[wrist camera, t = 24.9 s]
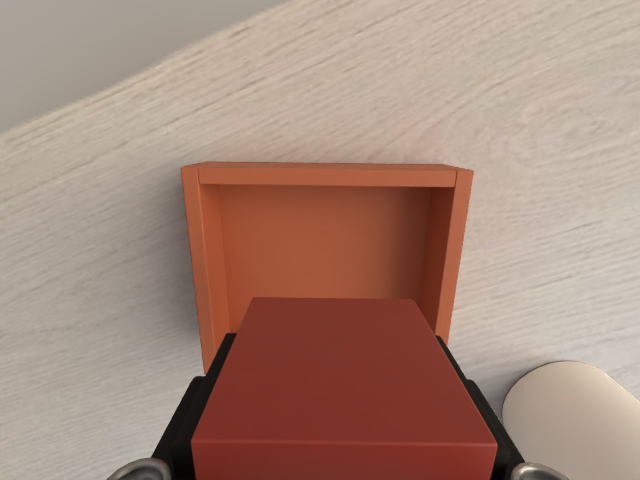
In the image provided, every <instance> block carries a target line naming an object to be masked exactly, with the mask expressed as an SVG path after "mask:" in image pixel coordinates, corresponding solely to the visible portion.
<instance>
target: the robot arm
mask: <svg viewBox="0 0 640 480" xmlns="http://www.w3.org/2000/svg"><path fill="white" fill-rule="evenodd" d="M236 335H237V333H226V335H225V337H224V339H223V341H222V343H221V345H220V347H219V349H218V351H217V353H216V355H215V357H214V359H213V361H212V364H211V366H210V368H209V370H208V372H207V374H206V376H196V377H195V378H194V379H193V380H192V381H191V383H190V385H189V387H188V389H187V391H186V393H185V394H184V396H183V398H182V400H181V402H180V404H179V406H178V408H177V409H176V411H175V413H174V415H173V417H172V419H171V421H170V423H169V424H168V426H167V428H166V430H165V432H164V434H163V436H162V438H161V439H160V441H159V443H158V445H157V447H156V449H155V451H154V452H153V454H152V456H151V458H144V459H139V460H136V461H133V462H130V463H128V464H127V465H125V466H123V467H122V468H120V469H118V470H117V471H116V472H115V473H113V474H112V475H111V476H110V477H109V478H107V480H196V477H195V469H194V462H193V455H192V448H191V439H192V437H193V434H194V432H195V430H196V427H197V425H198V423H199V420H200V418H201V416H202V413H203V411H204V409H205V406H206V404H207V402H208V400H209V397H210V395H211V393H212V390H213V388H214V386H215V383H216V381H217V379H218V376H219V374H220V372H221V369H222V367H223V365H224V362H225V360H226V358H227V356H228V353H229V351H230V349H231V346H232V344H233V342H234V339H235V337H236ZM435 337H436V339H437V340H438V342H439V344H440V346H441V347H442V349H443V351H444V352H445V354H446V356H447V358H448V359H449V361H450V363H451V364H452V366H453V368H454V370H455V371H456V373H457V375H458V377H459V378H460V380H461V382H462V383H463V385H464V387H465V389H466V390H467V392H468V394H469V395H470V397H471V399H472V401H473V402H474V404H475V406H476V407H477V409H478V411H479V413H480V414H481V416H482V418H483V420H484V421H485V423H486V425H487V426H488V428H489V430H490V432H491V433H492V435H493V437H494V438H495V440H496V442H497V445H498V448H497V452H496V456H495V460H494V465H493V469H492V473H491V478H490V480H569V479H568V478H567V477H566V476H564V475H563V474H561V473H559V472H558V471H556V470H554V469H552V468H550V467H548V466H545V465H542V464H539V463H531V462H525V461H524V459H523V457H522V456H521V454H520V453H519V451H518V449H517V448H516V446H515V445H514V443H513V442H512V440H511V438H510V437H509V435H508V434H507V432H506V431H505V429H504V427H503V426H502V424H501V423H500V421H499V419H498V418H497V416H496V415H495V413H494V412H493V410H492V408H491V407H490V405H489V404H488V402H487V400H486V399H485V397H484V396H483V394H482V393H481V391H480V389H479V388H478V386H477V385H476V384H475V382H474V381H472V380H467V379H466V377H465V376H464V374H463V372H462V371H461V369H460V367H459V366H458V364H457V362H456V361H455V359H454V357H453V356H452V354H451V352H450V351H449V349H448V348H447V346H446V344H445V343H444V341H443V339H442V338H441V337H440V336H439V335H435Z"/></svg>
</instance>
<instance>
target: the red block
mask: <svg viewBox="0 0 640 480" xmlns="http://www.w3.org/2000/svg"><path fill="white" fill-rule="evenodd" d="M191 448H192V455H193V462H194V469H195V477H196V480H490V478H491V473H492V469H493V465H494V460H495V456H496V452H497V448H498V445H497V442H496V440H495V438H494V437H493V435H492V433H491V432H490V430H489V428H488V426H487V425H486V423H485V421H484V420H483V418H482V416H481V414H480V413H479V411H478V409H477V407H476V406H475V404H474V402H473V401H472V399H471V397H470V395H469V394H468V392H467V390H466V389H465V387H464V385H463V383H462V382H461V380H460V378H459V377H458V375H457V373H456V371H455V370H454V368H453V366H452V364H451V363H450V361H449V359H448V358H447V356H446V354H445V352H444V351H443V349H442V347H441V346H440V344H439V342H438V340H437V339H436V337H435V335H434V333H433V332H432V330H431V328H430V327H429V325H428V323H427V321H426V320H425V318H424V316H423V315H422V313H421V311H420V309H419V308H418V306H417V304H416V302H415V301H414V300H413V299H365V298H285V297H253V298H252V300H251V302H250V305H249V307H248V309H247V311H246V314H245V316H244V318H243V321H242V323H241V325H240V328H239V330H238V332H237V335H236V337H235V339H234V342H233V344H232V346H231V349H230V351H229V353H228V356H227V358H226V360H225V362H224V365H223V367H222V369H221V372H220V374H219V376H218V379H217V381H216V383H215V386H214V388H213V390H212V393H211V395H210V397H209V400H208V402H207V404H206V406H205V409H204V411H203V413H202V416H201V418H200V420H199V423H198V425H197V427H196V430H195V432H194V434H193V437H192V439H191Z"/></svg>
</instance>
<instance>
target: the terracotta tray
mask: <svg viewBox="0 0 640 480" xmlns="http://www.w3.org/2000/svg"><path fill="white" fill-rule="evenodd" d="M473 173H474V171H473V170H469V169H464V168H459V167H454V166H449V165H433V164H354V163H275V162H203V163H198V164H193V165H188V166H183V167H181V174H182V183H183V192H184V201H185V209H186V218H187V227H188V236H189V244H190V253H191V262H192V270H193V279H194V288H195V297H196V305H197V314H198V323H199V332H200V340H201V349H202V358H203V367H204V374H205V375H206V374H207V372H208V370H209V368H210V366H211V364H212V361H213V359H214V357H215V355H216V353H217V351H218V349H219V347H220V345H221V343H222V341H223V339H224V337H225V335H226V333H237V332H238V330H239V328H240V325H241V323H242V321H243V318H244V316H245V314H246V311H247V309H248V307H249V305H250V302H251V300H252V298H253V297H285V298H365V299H413V300H414V301H415V302H416V304H417V306H418V308H419V309H420V311H421V313H422V315H423V316H424V318H425V320H426V321H427V323H428V325H429V327H430V328H431V330H432V332H433V333H434V335H439V336H440V337H441V338H442V339H443V341H444V343H445V344H446V346H447V343H448V337H449V330H450V324H451V317H452V310H453V304H454V297H455V291H456V284H457V278H458V271H459V265H460V258H461V252H462V245H463V238H464V232H465V225H466V219H467V212H468V206H469V199H470V193H471V186H472V179H473Z"/></svg>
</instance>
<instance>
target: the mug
mask: <svg viewBox="0 0 640 480" xmlns="http://www.w3.org/2000/svg"><path fill="white" fill-rule="evenodd" d="M502 416H503V424H504V427H505V429H506V431H507V433H508V434H509V436H510V438H511V439H512V441H513V442H514V444H515V445H516V447H517V448H518V450H519V452H520V453H521V455H522V456H523V458H524V459H525V461H526V462H531V463H539V464H542V465H545V466H548V467H550V468H552V469H554V470H556V471H558V472H559V473H561V474H563V475H564V476H566V477H567V478H568V479H569V480H640V401H638V400H637V399H636V398H635V397H633V396H632V395H631V394H630V393H629V392H627V391H626V390H625V389H624V388H622V387H621V386H620V385H619V384H618V383H616V382H615V381H614V380H613V379H612V378H610V377H609V376H608V375H607V374H605V373H604V372H603V371H601V370H600V369H598V368H596V367H594V366H591V365H588V364H585V363H582V362H574V361H561V362H555V363H550V364H547V365H544V366H541V367H539V368H537V369H535V370H533V371H531V372H529V373H528V374H526V375H525V376H524V377H522V378H521V379H520V380H519V381H518V382H517V383H516V384H515V385H514V386H513V387H512V388H511V390H510V391H509V393H508V394H507V396H506V399H505V401H504V403H503V410H502Z"/></svg>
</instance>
